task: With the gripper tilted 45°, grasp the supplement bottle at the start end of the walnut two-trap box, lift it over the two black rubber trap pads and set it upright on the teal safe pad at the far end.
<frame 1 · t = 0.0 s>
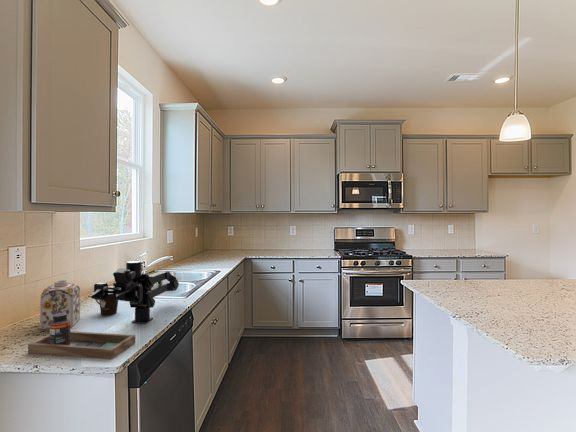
hand: (103, 297, 120), 17 cm above the worktop, tool horizontal, fingers open, 9 cm apart
supplement bottle: (60, 347, 117), resting in two trap box
coffee mug: (107, 313, 156), on the worktop
decorative jar: (61, 324, 140), on the worktop
two trap box: (83, 348, 116), on the worktop
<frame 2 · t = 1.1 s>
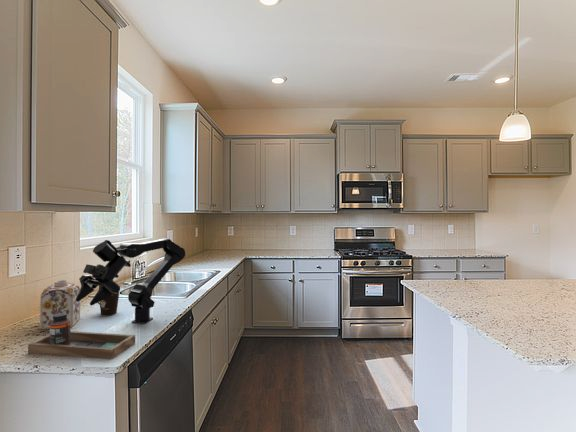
hand: (83, 302, 123), 13 cm above the worktop, tool tilted 45°, fingers open, 9 cm apart
nothing on the worktop moved.
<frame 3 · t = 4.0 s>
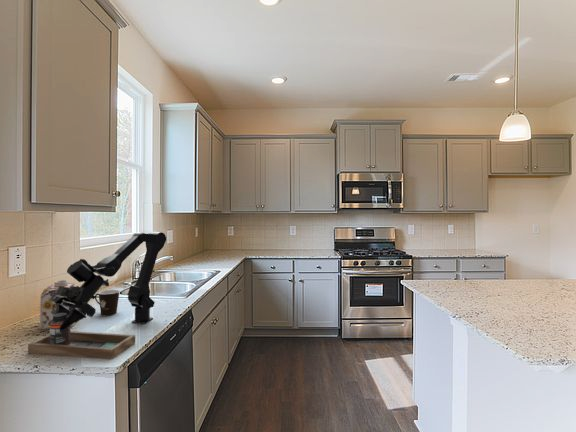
hand: (55, 327, 115), 7 cm above the worktop, tool tilted 45°, fingers closed on supplement bottle, 6 cm apart
supplement bottle: (60, 347, 117), resting in two trap box, touching gripper
everything else where it was.
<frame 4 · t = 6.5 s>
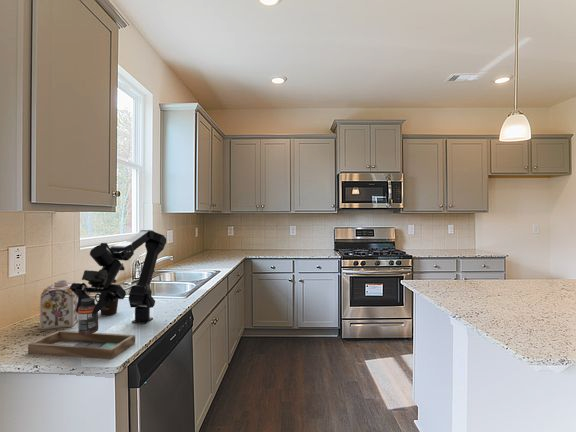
hand: (85, 312, 113), 13 cm above the worktop, tool tilted 45°, fingers closed on supplement bottle, 6 cm apart
supplement bottle: (88, 332, 114), point 6 cm above the worktop, touching gripper
everything else where it was.
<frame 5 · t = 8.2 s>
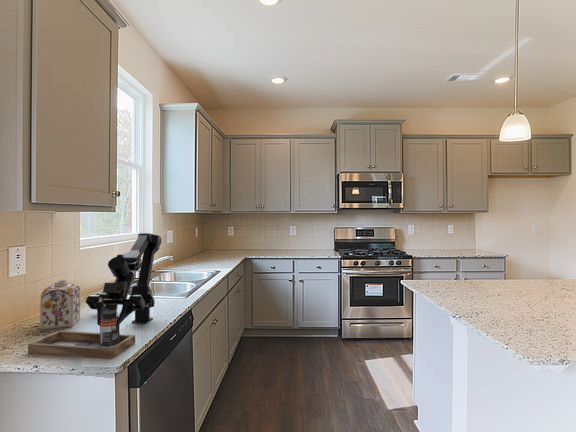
hand: (108, 324, 113), 9 cm above the worktop, tool tilted 45°, fingers closed on supplement bottle, 6 cm apart
supplement bottle: (109, 344, 115), point 2 cm above the worktop, touching gripper
everything else where it was.
when the fingers open (8 cm above the worktop, at t = 9.2 s): supplement bottle stays where it is, resting on two trap box.
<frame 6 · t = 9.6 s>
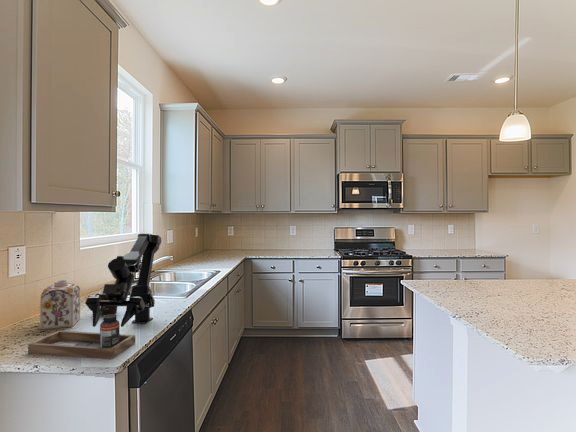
hand: (107, 326, 113), 9 cm above the worktop, tool tilted 45°, fingers open, 9 cm apart
supplement bottle: (109, 349, 115), resting on two trap box
everything else where it was.
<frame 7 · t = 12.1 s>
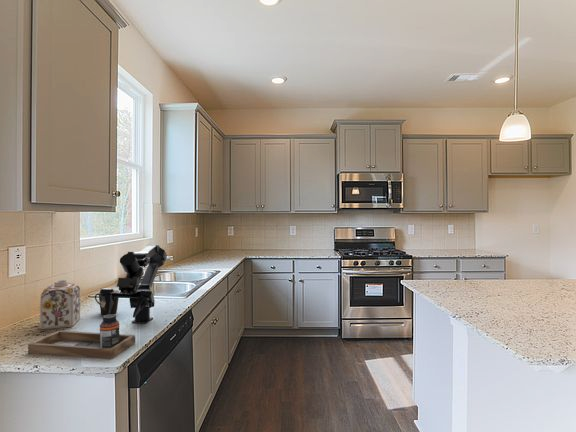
hand: (120, 316, 123), 9 cm above the worktop, tool tilted 45°, fingers open, 9 cm apart
nothing on the worktop moved.
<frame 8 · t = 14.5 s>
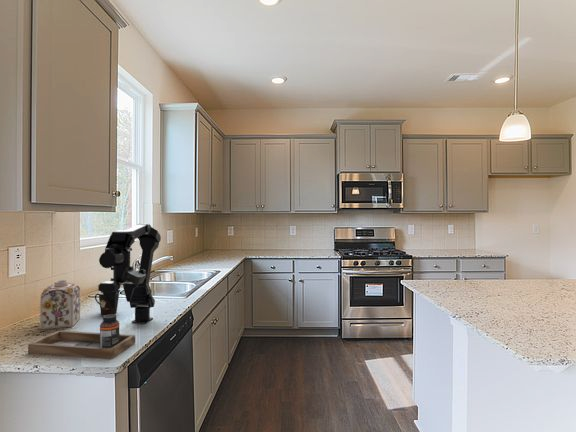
hand: (121, 304, 127), 12 cm above the worktop, tool pointing down, fingers open, 9 cm apart
nothing on the worktop moved.
at the end: supplement bottle inside the target area on the two trap box (0.2 cm from its centre), point 0.2 cm above the two trap box's base; supplement bottle tilted 0°; the gripper is holding nothing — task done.
